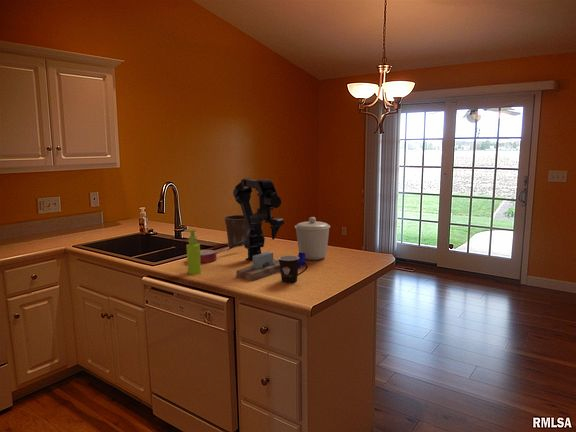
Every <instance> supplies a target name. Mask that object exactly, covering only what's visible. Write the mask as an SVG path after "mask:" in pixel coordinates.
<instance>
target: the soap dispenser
mask: <svg viewBox="0 0 576 432" xmlns="http://www.w3.org/2000/svg"><path fill="white" fill-rule="evenodd" d="M182 232H183V233H188V232H190V236H189V237H188V243H187V244H186V246H185V247H186V262H187V274H188V275H199V274H201V273H202V265H201V264H202V263H201V260H200V250H201V244H200V243H198V241H197V236H196V235H195V232H197V230H196V229H191V228H190V229H186V230H185V229H184V230H183V231H182Z"/></svg>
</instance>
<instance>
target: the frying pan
mask: <svg viewBox="0 0 576 432" xmlns="http://www.w3.org/2000/svg"><path fill="white" fill-rule="evenodd" d="M243 243H244V241H240V242H238V243H236V244H233V245H229V246H227V247H226V248H222V249H220V250H218V251H217V250H216V249H215V250H214V249H209V248H208V249H200V260H201V264H210V263H213V262H216V261H217V258H218V257H217V255H218V254H221V253H223V252H225V251H228V250H231V249H234V248H235V247H237V246H238V245H240V244H243ZM240 246H241V245H240Z"/></svg>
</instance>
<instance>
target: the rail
mask: <svg viewBox="0 0 576 432" xmlns="http://www.w3.org/2000/svg"><path fill="white" fill-rule="evenodd" d="M262 265H263V269H260V270H258V269H253V265H250V266H245V267H243V268H239V269H236V272H235V273H236V274H235V275H236V278H240V279H244V280H247V281H250V282H251V281H252V282H254V281H257V280H260V279H262V278H265V277H268V276H271V275H274V274H277V273H281V271H280V264H279V259H274V258H273V265H272V266H266V265H264V263H263V264H262Z"/></svg>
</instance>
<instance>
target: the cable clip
mask: <svg viewBox="0 0 576 432" xmlns="http://www.w3.org/2000/svg"><path fill="white" fill-rule="evenodd" d="M297 254H298V255H297V256H298V257H299V262H305V263H306V262H307V261H306V260H307V259H305V253H301V252H300V253H299V252H298V253H297ZM306 264H307V263H306ZM304 266H306V265H305V264H304V263H301V264H300V265H299V267H298V270H301V269H302V267H304Z"/></svg>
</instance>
